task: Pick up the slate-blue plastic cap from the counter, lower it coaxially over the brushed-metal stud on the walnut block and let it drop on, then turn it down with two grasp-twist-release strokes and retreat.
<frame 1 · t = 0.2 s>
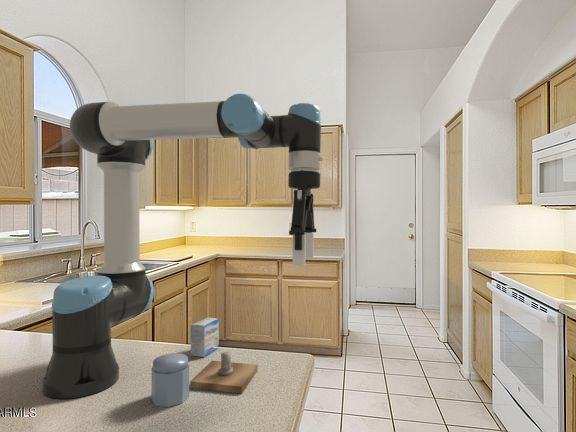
hand: (303, 261, 86), 28 cm above the countertop, fingers open, 13 cm apart
stud block: (225, 378, 86), on the countertop
medicine box: (205, 352, 103), on the countertop
cap: (170, 397, 77), on the countertop
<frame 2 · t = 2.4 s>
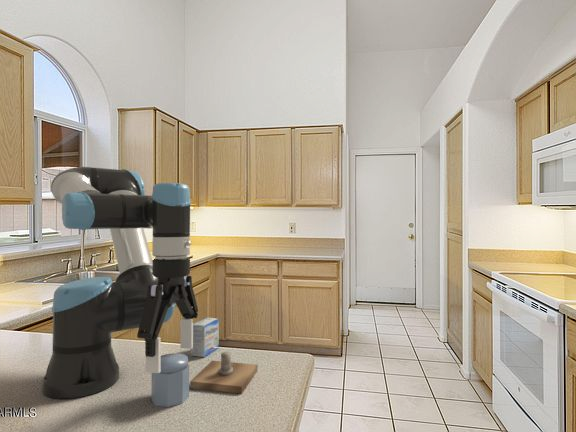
hand: (171, 359, 76), 8 cm above the countertop, fingers open, 13 cm apart
nothing on the countertop moved.
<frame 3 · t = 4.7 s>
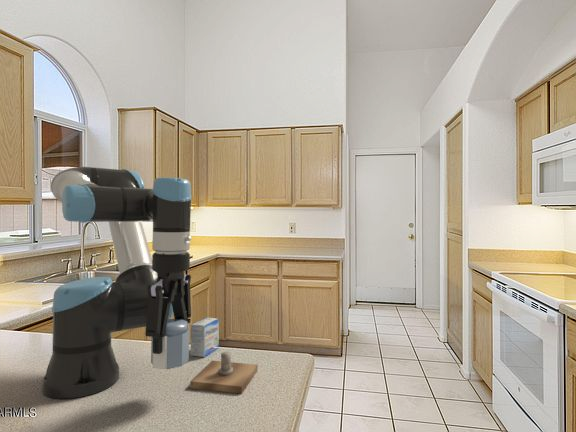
hand: (169, 360, 77), 8 cm above the countertop, fingers closed on cap, 7 cm apart
cap: (169, 361, 77), point 7 cm above the countertop, touching gripper
everything else where it was.
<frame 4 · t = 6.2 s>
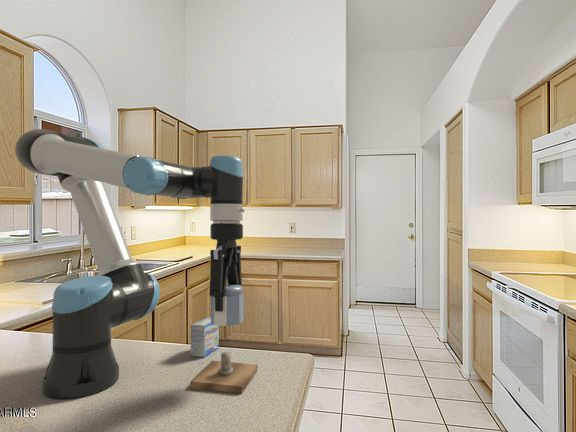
hand: (226, 320, 86), 14 cm above the countertop, fingers closed on cap, 7 cm apart
cap: (227, 321, 86), point 14 cm above the countertop, touching gripper
everything else where it was.
when the fingers open (3 cm above the countertop, at t = 8.3 s): cap drops 1 cm, resting on stud block.
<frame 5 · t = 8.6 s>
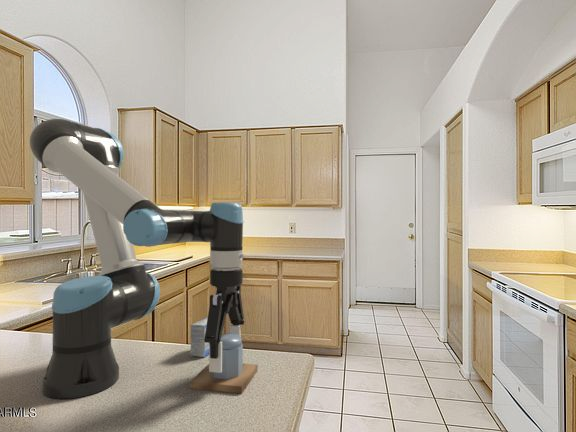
hand: (225, 360, 86), 4 cm above the countertop, fingers open, 11 cm apart
cap: (226, 372, 86), point 1 cm above the countertop, touching stud block
everything else where it was.
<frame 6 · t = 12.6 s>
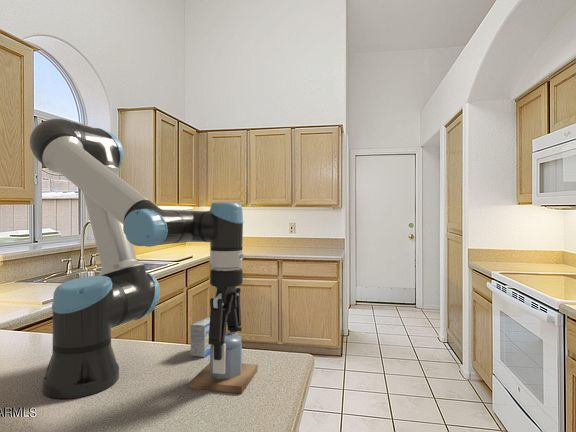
hand: (225, 365, 86), 3 cm above the countertop, fingers closed on cap, 8 cm apart
cap: (226, 372, 86), point 2 cm above the countertop, touching gripper
everything else where it was.
when the fingers open (3 cm above the countertop, at t = 14.0 s): cap stays where it is, resting on stud block.
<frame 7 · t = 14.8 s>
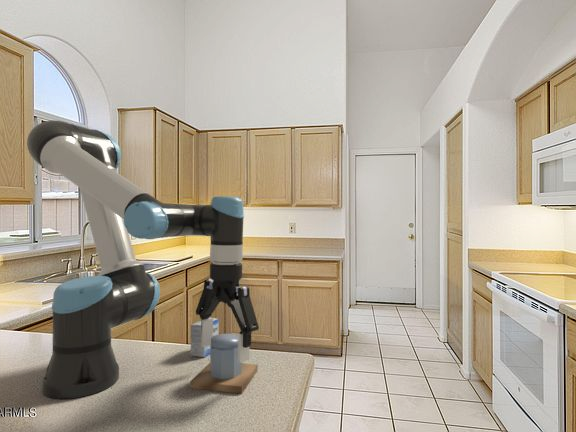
hand: (224, 352, 86), 6 cm above the countertop, fingers open, 13 cm apart
cap: (225, 372, 86), point 1 cm above the countertop, touching stud block
everything else where it was.
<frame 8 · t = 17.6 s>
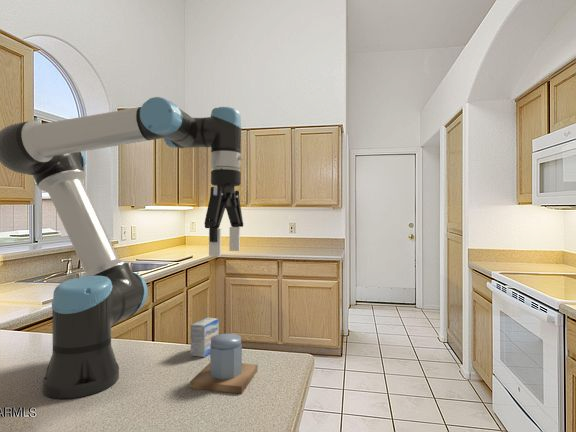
hand: (225, 253, 93), 29 cm above the countertop, fingers open, 13 cm apart
nothing on the countertop moved.
at the end: cap 0.0 cm off-centre on the stud block, point 1.5 cm above the stud block's base; cap tilted 0°; the gripper is holding nothing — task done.
